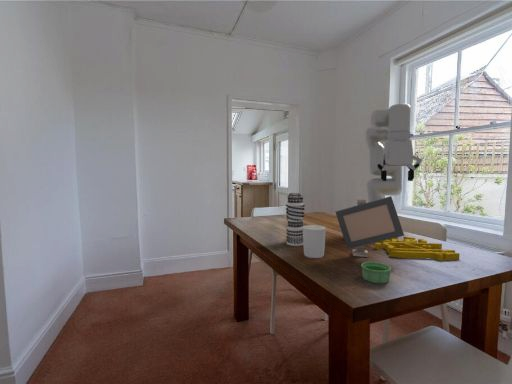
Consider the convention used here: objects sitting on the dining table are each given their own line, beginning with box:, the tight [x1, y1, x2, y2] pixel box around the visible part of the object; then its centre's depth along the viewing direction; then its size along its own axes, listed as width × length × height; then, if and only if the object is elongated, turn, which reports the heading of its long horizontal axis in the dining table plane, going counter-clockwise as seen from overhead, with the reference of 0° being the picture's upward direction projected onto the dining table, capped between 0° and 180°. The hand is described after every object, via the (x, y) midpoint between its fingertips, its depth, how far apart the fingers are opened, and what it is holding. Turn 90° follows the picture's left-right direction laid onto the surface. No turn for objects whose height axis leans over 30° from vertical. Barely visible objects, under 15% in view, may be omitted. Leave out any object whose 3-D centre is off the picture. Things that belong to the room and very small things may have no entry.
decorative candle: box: [285, 192, 306, 247], centre depth 132 cm, size 9×9×25 cm
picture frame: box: [335, 196, 405, 250], centre depth 108 cm, size 2×22×16 cm, turn 74°
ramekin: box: [360, 261, 392, 284], centre depth 87 cm, size 9×9×4 cm
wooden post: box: [351, 198, 370, 258], centre depth 112 cm, size 4×6×24 cm
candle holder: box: [302, 224, 327, 259], centre depth 113 cm, size 10×10×12 cm
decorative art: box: [374, 235, 461, 262], centre depth 123 cm, size 34×3×30 cm
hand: (397, 180), depth 106 cm, fingers open, 9 cm apart
